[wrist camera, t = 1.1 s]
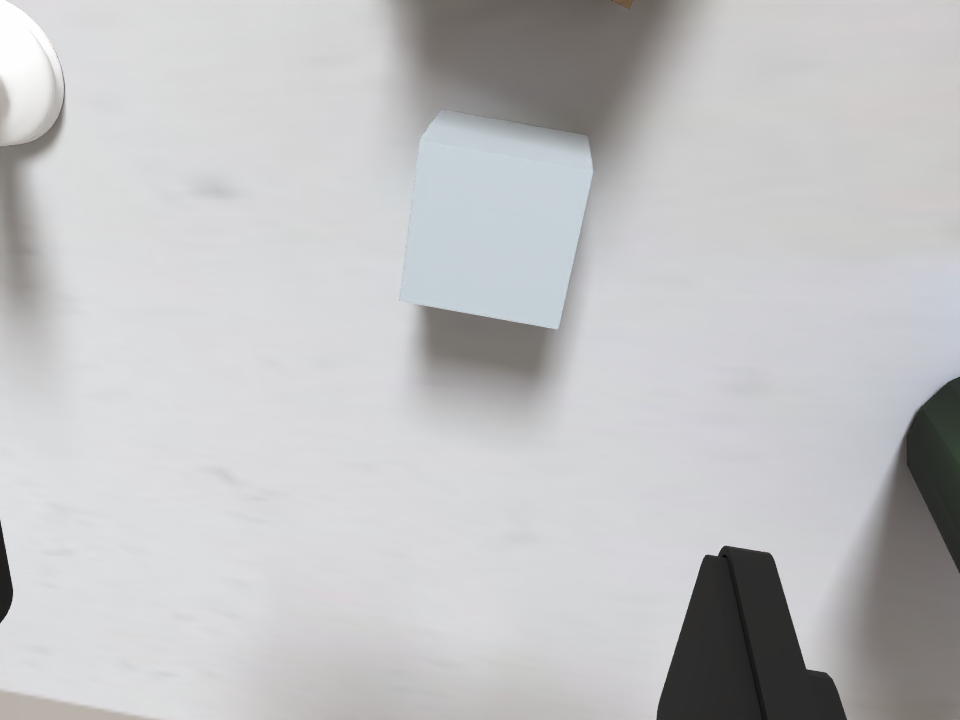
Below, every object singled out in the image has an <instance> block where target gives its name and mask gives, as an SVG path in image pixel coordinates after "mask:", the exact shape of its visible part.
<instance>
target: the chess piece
mask: <svg viewBox="0 0 960 720" xmlns="http://www.w3.org/2000/svg"><path fill="white" fill-rule="evenodd" d="M63 97H64V82H63V74H62V70H61V66H60V63H59V60H58V57H57V55H56V53H55V51H54V48H53V46H52V45H51V43H50V41H49V40H48V38H47V37H46V35H45V34H44V32H43V31H42V30H41V29H40V28H39V26H38V25H37V24H36V23H35V22H34V21H33V20H32V19H31V18H30V17H29V16H28V15H26V14H25V13H24V12H23V11H21V10H20V9H18V8H17V7H15V6H14V5H12V4H10V3H8V2H6V1H4V0H0V146H9V145H18V144H24V143H28V142H31V141H33V140H35V139H37V138H39V137H41V136H42V135H44V134H45V133H46V132H47V131H48V130H49V129H50V128H51V127H52V126H53V124H54V123H55V121H56V119H57V118H58V115H59V113H60V110H61V107H62V103H63Z"/></svg>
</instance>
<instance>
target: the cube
mask: <svg viewBox="0 0 960 720" xmlns="http://www.w3.org/2000/svg"><path fill="white" fill-rule="evenodd" d="M592 176H593V165H592V159H591V152H590V146H589V139H588V135H582V134H577V133H571V132H565V131H560V130H554V129H549V128H543V127H538V126H532V125H526V124H521V123H515V122H510V121H504V120H499V119H493V118H487V117H482V116H476V115H471V114H465V113H460V112H454V111H448V110H443V109H440V111H439V112H438V114H437V115H436V117H435V118H434V120H433V121H432V123H431V124H430V126H429V127H428V128H427V130H426V131H425V133H424V134H423V136H422V137H421V139H420V140H419V148H418V156H417V164H416V172H415V180H414V188H413V196H412V203H411V211H410V219H409V227H408V235H407V243H406V251H405V259H404V267H403V275H402V283H401V291H400V299H399V301H401V302H407V303H413V304H418V305H424V306H429V307H435V308H440V309H446V310H452V311H457V312H463V313H468V314H474V315H479V316H485V317H491V318H496V319H502V320H507V321H513V322H518V323H524V324H530V325H535V326H541V327H546V328H552V329H557V330H558V329H559V325H560V320H561V316H562V311H563V307H564V302H565V298H566V293H567V289H568V284H569V279H570V275H571V270H572V266H573V261H574V257H575V252H576V248H577V243H578V239H579V234H580V230H581V225H582V221H583V216H584V212H585V207H586V203H587V198H588V194H589V189H590V185H591V180H592Z"/></svg>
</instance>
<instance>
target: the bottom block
mask: <svg viewBox="0 0 960 720" xmlns="http://www.w3.org/2000/svg"><path fill="white" fill-rule="evenodd" d="M612 1H614V2H616V3H618V4H620V5H622V6H624V7H626V8H628V9H629V8H630V6H631V4H632V2H633V0H612Z"/></svg>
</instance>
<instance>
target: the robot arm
mask: <svg viewBox="0 0 960 720" xmlns="http://www.w3.org/2000/svg"><path fill="white" fill-rule="evenodd" d="M12 598H13V587H12V581H11V576H10V571H9V565H8V560H7V554H6V549H5V544H4V538H3V533H2V527H1V522H0V623H1V622H2V620H3V619H4V618H5V616H6V615H7V613H8V611H9V609H10V606H11V603H12ZM657 720H847V719H846V715H845V712H844V709H843V706H842V703H841V700H840V697H839V694H838V691H837V689H836V686H835V684H834V682H833V680H832V678H831V677H830V676H829V675H828V674H827V673H825V672H819V671H813V670H807V669H806V667H805V664H804V660H803V657H802V653H801V650H800V646H799V643H798V640H797V636H796V633H795V629H794V626H793V622H792V619H791V616H790V612H789V609H788V605H787V602H786V598H785V595H784V592H783V588H782V585H781V581H780V578H779V575H778V571H777V568H776V564H775V561H774V559H773V556H772V555H771V554H770V553H767V552H761V551H755V550H749V549H743V548H736V547H730V546H724V547H723V548H722V549H721V550H720V552H719V555H718V556H713V555H705V557H704V558H703V561H702V564H701V567H700V570H699V573H698V577H697V580H696V583H695V586H694V590H693V593H692V596H691V599H690V603H689V606H688V609H687V613H686V616H685V619H684V622H683V626H682V629H681V632H680V635H679V639H678V642H677V645H676V648H675V652H674V655H673V658H672V661H671V665H670V668H669V671H668V675H667V678H666V681H665V684H664V688H663V691H662V694H661V697H660V701H659V705H658V711H657Z"/></svg>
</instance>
